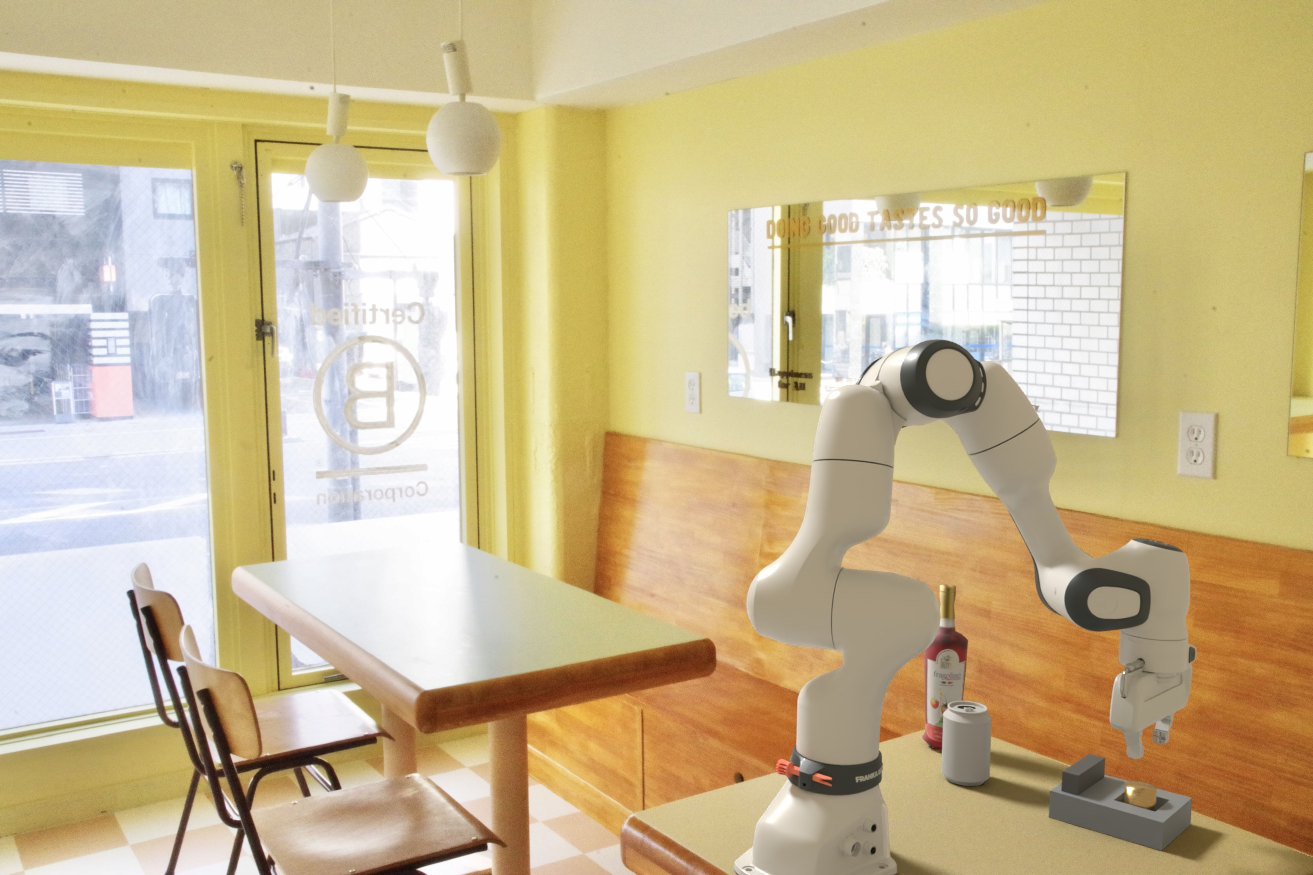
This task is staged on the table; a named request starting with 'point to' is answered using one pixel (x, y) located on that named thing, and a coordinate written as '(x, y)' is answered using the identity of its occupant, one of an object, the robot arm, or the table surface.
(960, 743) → the can
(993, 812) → the table surface
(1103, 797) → the frame
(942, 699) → the liquor
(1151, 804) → the gold cylinder puck
